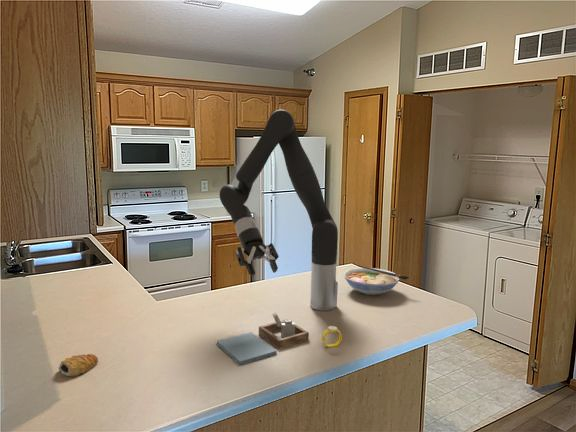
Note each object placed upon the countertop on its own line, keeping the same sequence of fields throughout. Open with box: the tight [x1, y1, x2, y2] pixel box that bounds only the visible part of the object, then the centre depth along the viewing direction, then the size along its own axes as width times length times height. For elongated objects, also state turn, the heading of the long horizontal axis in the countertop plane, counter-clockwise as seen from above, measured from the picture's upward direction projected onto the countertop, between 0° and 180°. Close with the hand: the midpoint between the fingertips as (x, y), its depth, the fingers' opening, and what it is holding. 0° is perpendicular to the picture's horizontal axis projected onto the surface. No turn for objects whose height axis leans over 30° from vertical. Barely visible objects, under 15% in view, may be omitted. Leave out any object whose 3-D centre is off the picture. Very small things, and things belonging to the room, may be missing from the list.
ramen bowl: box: [343, 265, 409, 296], centre depth 181 cm, size 25×23×8 cm
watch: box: [321, 325, 343, 348], centre depth 132 cm, size 6×3×6 cm, turn 107°
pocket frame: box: [258, 319, 310, 349], centre depth 138 cm, size 11×12×2 cm
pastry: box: [58, 353, 99, 377], centre depth 117 cm, size 9×7×4 cm
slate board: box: [216, 331, 278, 366], centre depth 130 cm, size 12×15×1 cm
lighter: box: [271, 312, 296, 339], centre depth 138 cm, size 7×2×8 cm, turn 104°
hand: (264, 273), depth 145 cm, fingers open, 8 cm apart
